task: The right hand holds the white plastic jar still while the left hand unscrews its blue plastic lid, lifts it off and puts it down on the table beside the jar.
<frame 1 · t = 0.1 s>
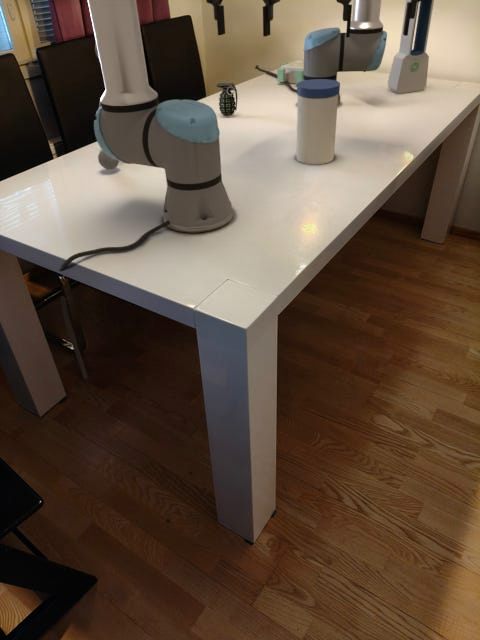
left hand: (243, 35, 129), 28 cm above the table, tool pointing down, fingers open, 13 cm apart
right hand: (376, 35, 118), 28 cm above the table, tool pointing down, fingers open, 13 cm apart
lid: (318, 85, 122), point 18 cm above the table, screwed on, not yet turned
molecular model: (134, 155, 142), on the table
electronic device: (405, 90, 185), on the table
grenade: (228, 115, 169), on the table
jar: (314, 157, 133), on the table
decorative block: (304, 79, 207), on the table
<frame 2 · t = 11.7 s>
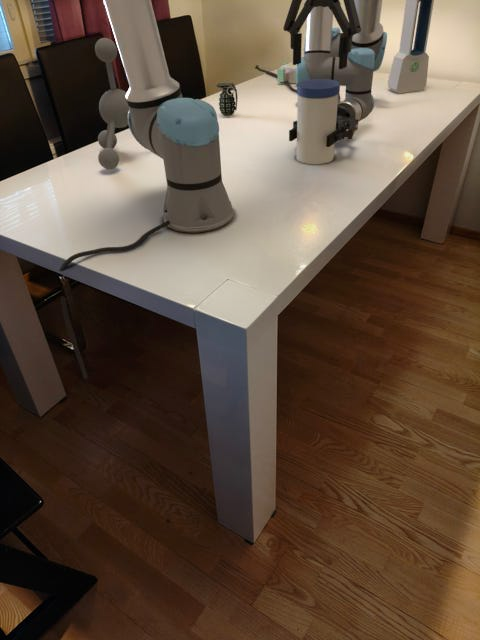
left hand: (319, 66, 119), 23 cm above the table, tool pointing down, fingers open, 12 cm apart
right hand: (308, 138, 127), 6 cm above the table, tool horizontal, fingers closed on jar, 10 cm apart
jar: (314, 157, 133), on the table, touching right hand
everything else where it was.
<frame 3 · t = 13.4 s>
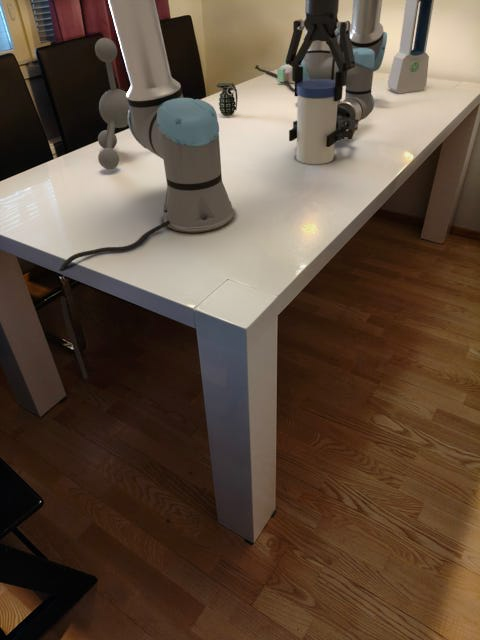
left hand: (317, 97, 124), 15 cm above the table, tool pointing down, fingers closed on lid, 11 cm apart
right hand: (308, 138, 127), 6 cm above the table, tool horizontal, fingers closed on jar, 10 cm apart
lid: (318, 85, 122), point 18 cm above the table, screwed on, not yet turned, touching left hand
jar: (314, 157, 133), on the table, touching right hand
everything else where it was.
when the left hand's fingers open (16 cm above the table, at t = 14.8 s): lid stays where it is, point 18 cm above the table.
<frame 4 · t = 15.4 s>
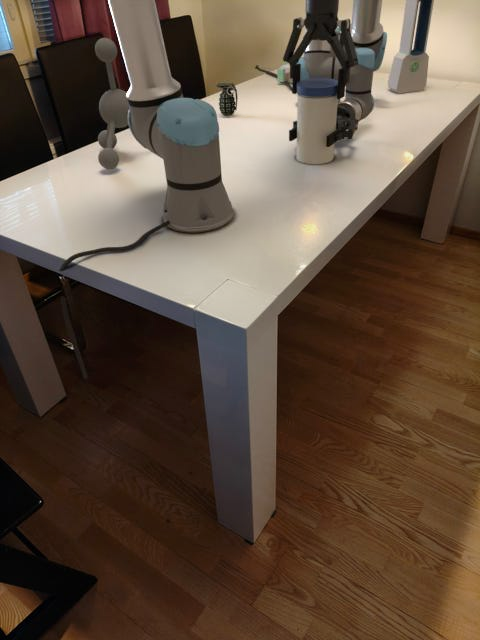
left hand: (317, 95, 123), 16 cm above the table, tool pointing down, fingers open, 12 cm apart
right hand: (308, 138, 127), 6 cm above the table, tool horizontal, fingers closed on jar, 10 cm apart
lid: (318, 84, 122), point 18 cm above the table, turned 77° so far, risen 0.2 cm, still on its thread
jar: (314, 157, 133), on the table, touching right hand
everything else where it was.
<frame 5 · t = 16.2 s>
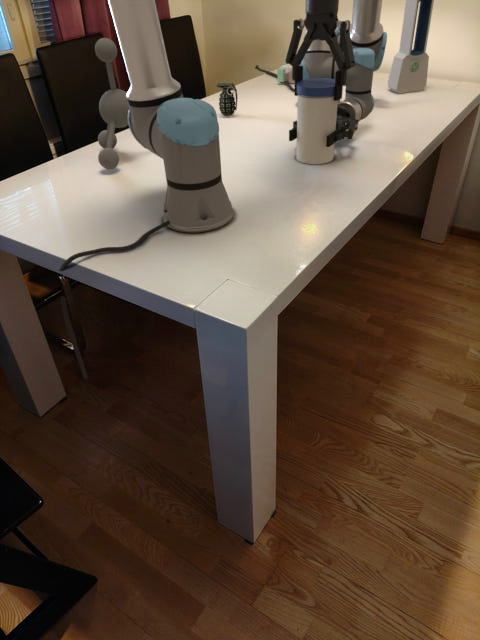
left hand: (317, 96, 124), 16 cm above the table, tool pointing down, fingers closed on lid, 11 cm apart
right hand: (308, 138, 127), 6 cm above the table, tool horizontal, fingers closed on jar, 10 cm apart
lid: (318, 84, 122), point 18 cm above the table, turned 77° so far, risen 0.2 cm, still on its thread, touching left hand
jar: (314, 157, 133), on the table, touching right hand
everything else where it was.
when the left hand's fingers open (0 cm above the table, at t = 23.3 s): lid drops 2 cm, point 2 cm above the table.
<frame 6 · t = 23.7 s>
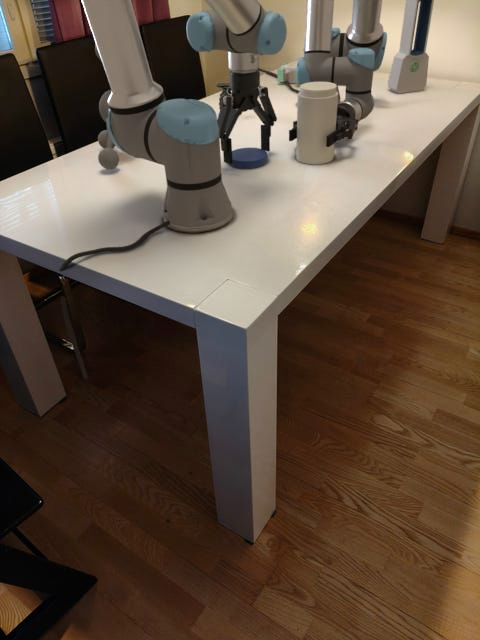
left hand: (247, 156, 132), 1 cm above the table, tool pointing down, fingers open, 13 cm apart
right hand: (308, 138, 127), 6 cm above the table, tool horizontal, fingers closed on jar, 10 cm apart
lid: (247, 155, 132), point 2 cm above the table, off its thread
jar: (314, 157, 133), on the table, touching right hand
everything else where it was.
when the right hand's fingers open (6 cm above the table, at t = 24.4 s): jar stays where it is, on the table.
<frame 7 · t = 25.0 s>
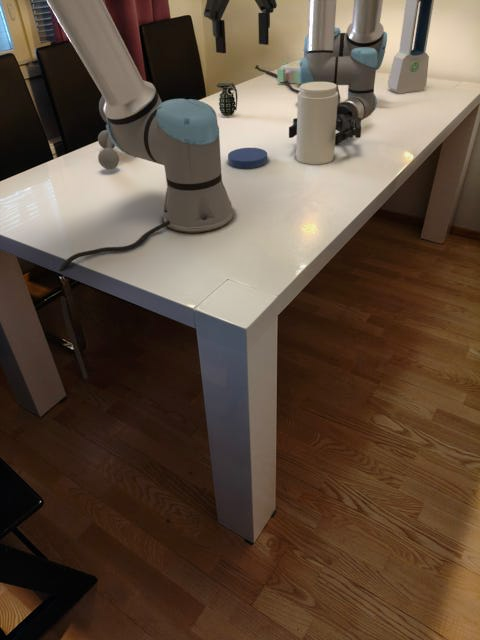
left hand: (243, 48, 116), 27 cm above the table, tool pointing down, fingers open, 13 cm apart
right hand: (312, 136, 128), 6 cm above the table, tool horizontal, fingers open, 13 cm apart
jar: (314, 157, 133), on the table
everything else where it was.
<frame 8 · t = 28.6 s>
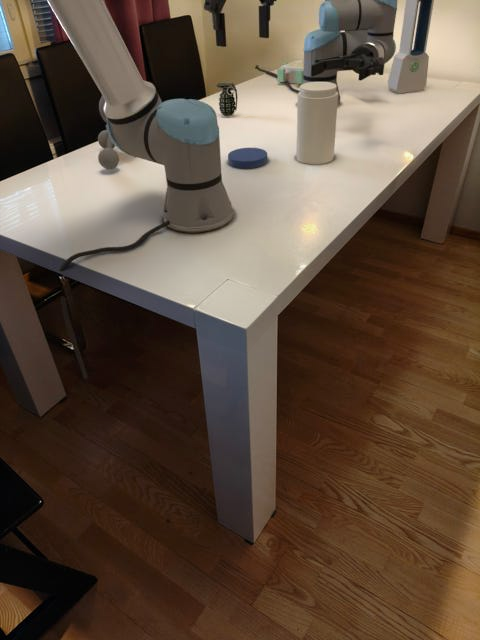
left hand: (243, 41, 116), 29 cm above the table, tool pointing down, fingers open, 13 cm apart
right hand: (335, 72, 128), 19 cm above the table, tool horizontal, fingers open, 13 cm apart
nothing on the table moved.
at the end: lid came off its thread; lid point 1.7 cm above the table; the left hand is holding nothing; the right hand is holding nothing; jar tilted 0°; jar moved 0.0 cm from its start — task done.
